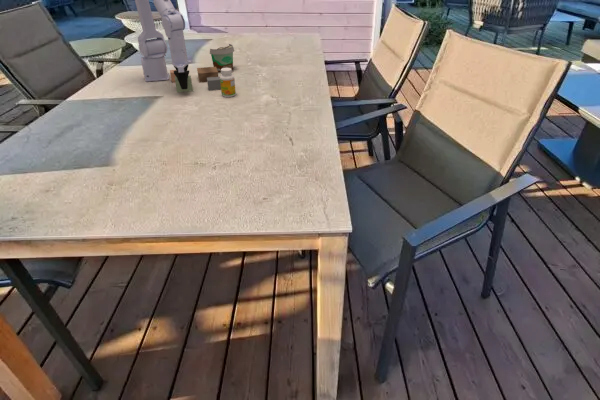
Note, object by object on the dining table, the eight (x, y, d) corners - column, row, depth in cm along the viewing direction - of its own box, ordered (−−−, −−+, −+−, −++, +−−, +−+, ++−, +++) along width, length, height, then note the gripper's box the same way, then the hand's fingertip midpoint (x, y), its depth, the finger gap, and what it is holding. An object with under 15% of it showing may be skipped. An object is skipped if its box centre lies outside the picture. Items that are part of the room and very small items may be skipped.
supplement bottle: (218, 95, 144) (215, 70, 138) (227, 91, 148) (224, 66, 142) (230, 98, 142) (227, 72, 136) (238, 94, 146) (236, 68, 140)
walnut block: (199, 83, 157) (198, 73, 154) (198, 77, 163) (196, 68, 161) (219, 81, 159) (217, 71, 156) (217, 75, 165) (216, 66, 163)
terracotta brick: (172, 82, 157) (170, 73, 154) (171, 79, 160) (169, 70, 157) (186, 81, 158) (185, 71, 156) (186, 78, 161) (184, 69, 159)
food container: (221, 75, 165) (218, 51, 159) (212, 72, 168) (209, 48, 162) (241, 68, 173) (239, 45, 167) (232, 66, 176) (229, 43, 170)
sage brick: (177, 92, 147) (174, 79, 144) (177, 89, 150) (174, 76, 147) (193, 91, 148) (191, 78, 145) (192, 87, 151) (190, 75, 148)
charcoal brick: (208, 90, 149) (207, 80, 146) (208, 87, 152) (206, 77, 150) (224, 89, 150) (223, 79, 148) (223, 86, 153) (222, 76, 151)
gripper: (189, 53, 135) (195, 91, 143) (188, 44, 147) (193, 79, 155) (169, 55, 134) (176, 92, 142) (169, 45, 145) (176, 80, 153)
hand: (184, 85), depth 148 cm, fingers open, 7 cm apart
